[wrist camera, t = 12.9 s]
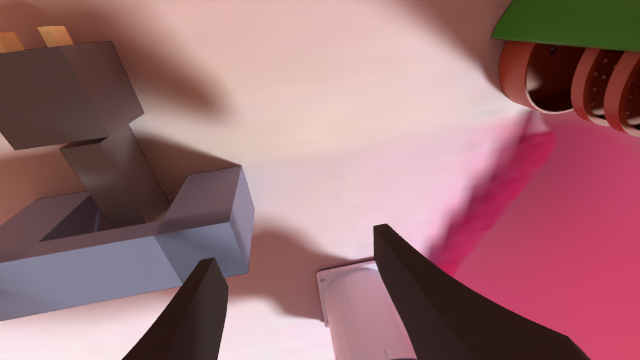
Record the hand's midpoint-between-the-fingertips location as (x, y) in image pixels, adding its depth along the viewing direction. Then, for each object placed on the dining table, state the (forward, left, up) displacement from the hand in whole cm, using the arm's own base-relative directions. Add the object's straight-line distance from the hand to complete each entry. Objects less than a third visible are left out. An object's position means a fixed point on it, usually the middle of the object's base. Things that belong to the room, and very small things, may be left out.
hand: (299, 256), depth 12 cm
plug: (+2, +10, -9) cm, 14 cm away
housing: (-1, +10, -9) cm, 14 cm away
